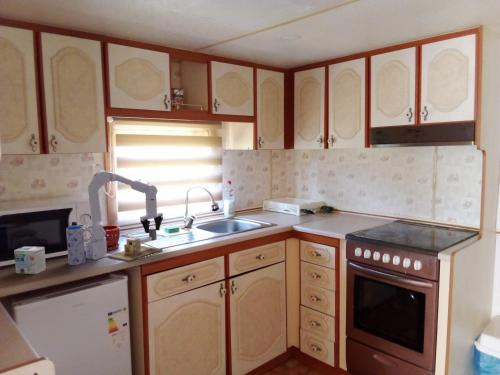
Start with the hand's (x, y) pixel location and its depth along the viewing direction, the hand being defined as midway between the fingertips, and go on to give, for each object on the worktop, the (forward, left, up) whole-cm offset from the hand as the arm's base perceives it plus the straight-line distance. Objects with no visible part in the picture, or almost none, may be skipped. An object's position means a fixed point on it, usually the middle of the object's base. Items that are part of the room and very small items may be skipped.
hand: (152, 231), depth 213 cm
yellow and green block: (-6, 0, -5) cm, 7 cm away
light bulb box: (-55, +20, -10) cm, 60 cm away
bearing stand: (-12, 0, -10) cm, 15 cm away
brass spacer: (-16, 0, -9) cm, 19 cm away
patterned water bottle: (-36, +14, -10) cm, 40 cm away
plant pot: (-12, +22, -10) cm, 27 cm away
